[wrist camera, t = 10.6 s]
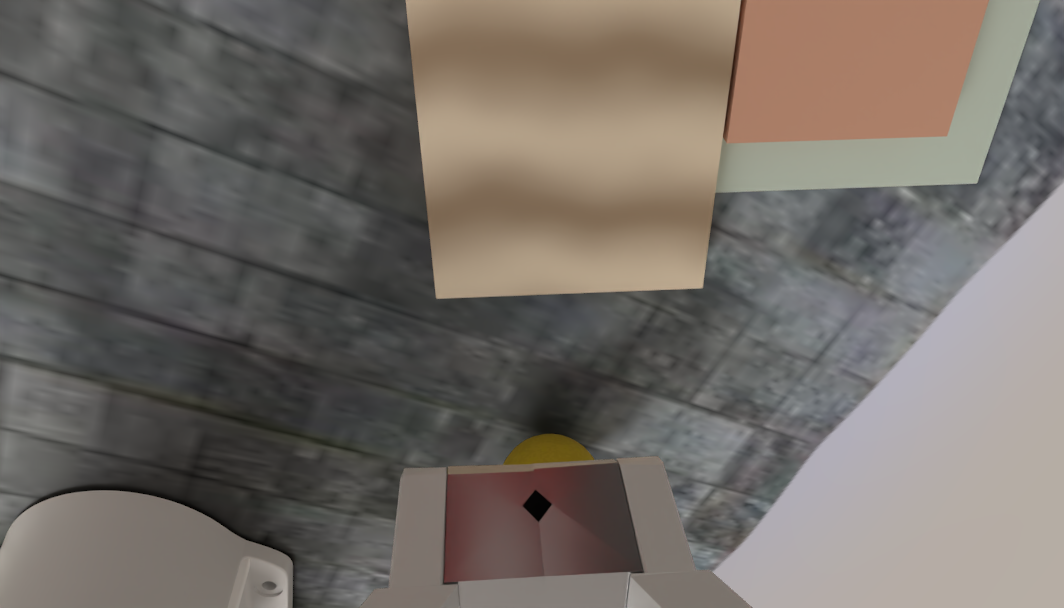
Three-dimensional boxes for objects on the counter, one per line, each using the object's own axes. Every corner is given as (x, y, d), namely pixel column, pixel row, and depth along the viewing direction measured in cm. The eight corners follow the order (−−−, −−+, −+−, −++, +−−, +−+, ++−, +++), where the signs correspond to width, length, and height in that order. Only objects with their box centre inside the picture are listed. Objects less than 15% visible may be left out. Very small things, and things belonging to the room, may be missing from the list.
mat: (971, 178, 34) (976, 183, 33) (706, 188, 33) (709, 192, 33) (1097, -195, 26) (1106, -195, 26) (753, -189, 26) (758, -189, 25)
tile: (929, 123, 32) (947, 136, 30) (717, 129, 31) (727, 143, 30) (973, -31, 28) (996, -23, 27) (737, -25, 28) (749, -17, 27)
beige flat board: (692, 265, 36) (702, 288, 34) (438, 275, 35) (436, 298, 34) (756, -262, 25) (776, -267, 23) (386, -257, 24) (379, -261, 22)
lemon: (495, 476, 43) (497, 600, 36) (496, 403, 40) (498, 523, 33) (591, 475, 43) (610, 598, 37) (600, 402, 40) (622, 522, 34)
